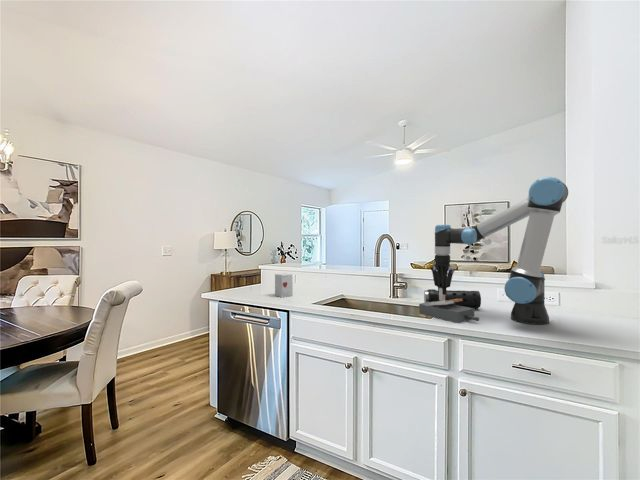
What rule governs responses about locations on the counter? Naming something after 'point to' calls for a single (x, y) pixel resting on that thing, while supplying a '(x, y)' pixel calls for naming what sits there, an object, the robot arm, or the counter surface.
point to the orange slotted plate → (455, 300)
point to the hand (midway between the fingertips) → (442, 300)
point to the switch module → (448, 312)
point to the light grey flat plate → (441, 302)
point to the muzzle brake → (456, 297)
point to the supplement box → (283, 285)
